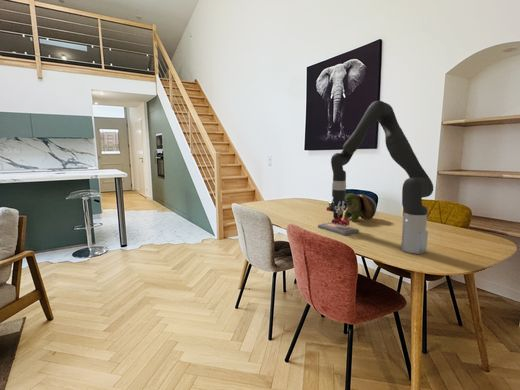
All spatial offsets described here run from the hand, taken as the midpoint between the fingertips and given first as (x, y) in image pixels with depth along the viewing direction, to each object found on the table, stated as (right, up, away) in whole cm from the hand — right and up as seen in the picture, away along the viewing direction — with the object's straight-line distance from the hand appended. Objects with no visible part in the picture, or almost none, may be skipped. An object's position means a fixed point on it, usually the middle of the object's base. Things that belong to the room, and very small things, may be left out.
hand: (338, 218), depth 162 cm
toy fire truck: (0, -4, 0) cm, 4 cm away
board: (0, -7, +1) cm, 7 cm away
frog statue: (+19, -3, +24) cm, 31 cm away
